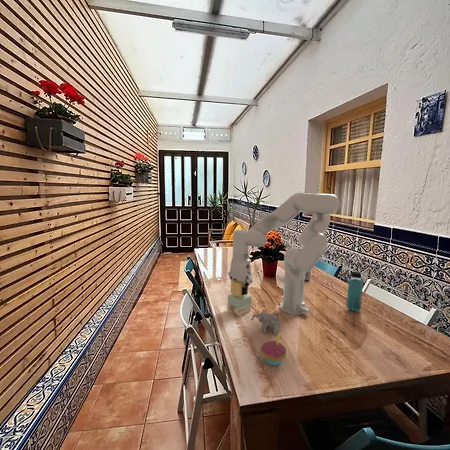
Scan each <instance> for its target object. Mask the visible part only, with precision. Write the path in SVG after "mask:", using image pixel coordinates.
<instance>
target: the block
mask: <svg viewBox="0 0 450 450" xmlns="http://www.w3.org/2000/svg"><path fill="white" fill-rule="evenodd" d="M245 284H246V282H245ZM242 287H243V284H242V281H240V280H237V279H236V280H233V281H231V280H230V294H234V295H236V296H238V297H241V296H243V295H242ZM247 295H249V286H248V287H247Z"/></svg>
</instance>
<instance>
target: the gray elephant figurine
mask: <svg viewBox="0 0 450 450" xmlns="http://www.w3.org/2000/svg"><path fill="white" fill-rule="evenodd" d="M255 317H256V318H258V322H259V323H261V324H262V330H263V333H264V334H267V333H268V327H269V328H273V330H272V334H273V335H274V336H276V335H277V336H278V330H279V328H280V326H281V318H280V317H279V316H278V314H277V313H274V312H273V313H268V312H266V309H264V308H263V310H262V312H260V313H258V314H253V316H252V317H251V319H250V320H251V321H254V318H255Z"/></svg>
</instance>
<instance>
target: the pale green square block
mask: <svg viewBox="0 0 450 450" xmlns="http://www.w3.org/2000/svg"><path fill="white" fill-rule="evenodd" d="M228 303H229V304H231V305H233V306H235V307H237V308H239V309H240V308H243V307H245V306H248V305H250V304H251V305H252V296H251V295H250V294H246V295H243V296H241V297H238V296H236V295H234V294H232V293H230V294H228V295H227V304H228Z"/></svg>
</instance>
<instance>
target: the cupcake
mask: <svg viewBox="0 0 450 450" xmlns="http://www.w3.org/2000/svg"><path fill="white" fill-rule="evenodd" d="M281 332H282V330H280V331H279V332H278V333H277V338H276V340H268V341H266V342H264V343H263V344H262V345H261V348H260V353H261V355H262V356H263V358H264V359H265V362H266V363H267V364H268V365H270V366H279V365H280V364H281V362H282V361H283V360H284V359H286V356H287V349H286V346H284V344H282V343H281V342H280V338H281V334H282V333H281Z"/></svg>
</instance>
